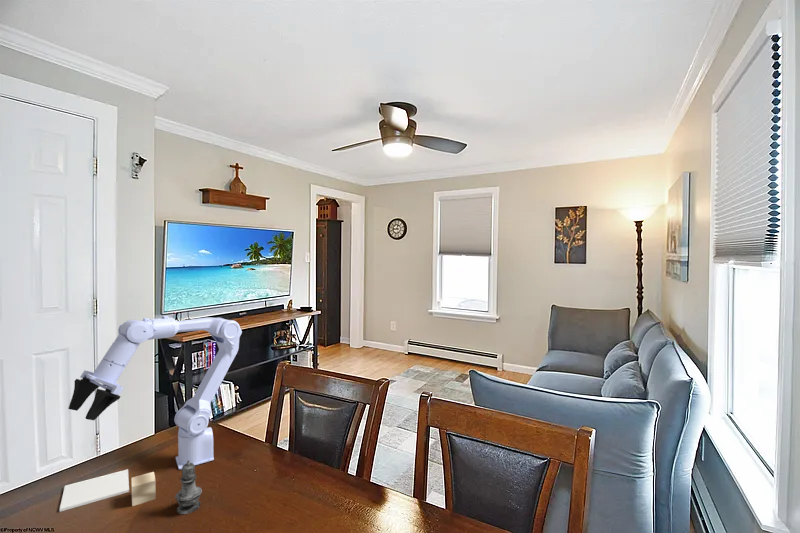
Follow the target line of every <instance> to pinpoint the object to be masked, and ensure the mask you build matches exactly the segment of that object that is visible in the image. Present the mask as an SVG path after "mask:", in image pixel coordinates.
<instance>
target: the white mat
mask: <svg viewBox="0 0 800 533" xmlns="http://www.w3.org/2000/svg"><path fill="white" fill-rule="evenodd" d="M129 478H130V477H129V469H128V468H127V469H124V470H120V471H119V470H118V471H116V472H112V473H107V474H105V475H102V476H96V477H94V478H89V479H86V480H81V481H78V482H74V483H70V484H65V485H64V487H63V494H62V497H61V502H60V505H59V513H61V512H63V511H68V510H71V509H75V508H78V507H81V506H85V505H89V504H92V503H95V502H99V501H102V500H106V499H109V498H113V497H116V496H121V495H123V494H126V493H130V482H129Z"/></svg>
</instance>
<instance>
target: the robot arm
mask: <svg viewBox="0 0 800 533" xmlns="http://www.w3.org/2000/svg"><path fill="white" fill-rule="evenodd" d="M117 329H118V330H117V331H118V335H117V337H116V338H115V339H114V340H113V342H112V343H111V345H110V347H109V348H108V349H107V351H106V352H105V354H104V356H103V357H102V359H101V360H100V362H99V363H98V365H97V367H96V368H95V370H94V371H93V372H92V371H88V370H83V372H82V373H81V375H80V376H79V377H80V379H79V378H75V380H74V387H73V392H72V396H71V400H70V402H69V404H68V407H67V409H68V410H71V411H79V409H81V407H82V406H83V405H84V404H85V402H86V400H88V398H89V397H90V396H91V395H92V393H94V392H95V395H94V399H93V401H92V403H91V406H90V407H89V409H88V411H87V413H86V415H85V419H86V420H88V421H89V420H90V421H96V419H97V418H98V417H99V416H101V414H103V412H104V411H105V410H106V409H107V408H109V407H110V406H111V405H112V404H114V403H115V402H116V401H117V402H118V400H120V399H121V397H122V396H120V395H121V394H122V392H123V391H124V389H125V387H123V386H121V385H120V384H119V383H118V381H119V379H120V377H121V375H122V374H123V372H124V370H126V367H127V366H128V364H129V362H130V361H131V360H132V358H133V356H134V354H135V353H136V351H137V349H138V348H139V346H140V344H142V343H144V342H147V341H149V340H150V341H151V340H158V339H166V338H167V339H168V338H172V337H174V336H176V334H177V333H182V332H196V331H197V332H198V331H205V332H208V333H209V335H210V336H211V337H212V338H213V340H215V343H216V345H217V347H218V351H217V353H216V355H215V356H214V358H213V360H212V362H211V363H210V365H209V367H208V369H207V371H206V373H205V375H204V376H203V378H202V380H201V382H200V384H199V386H198V387H197V389H196V391H195V393H194V395H193V397H191V398H190V399H188V400H186V401H185V403H184V405H183V406H182V407H180V409H179V410H178V411H176V413H175V415H174V423H175V425H176V426H177V427H178V432H177V437H178V439H177V440H178V441H177V445H178V446H177V447H178V449H177V450H178V455H177V456H175V462H176V465H177V468H178V470H182V467H183V465H185V464H186V463H187V461H188V460H189V461H190V462H189V463H193V464H194V465H195V466H198V465H201V464H204V463H209V462H211V461H214V460H215V458H214V433H213V428H212V427H211V426H210V427H208V425H209V422H210V421H209V420H210V417H211V416H210V415H211V414H212V406H211V403H212V402H213V399H214V398H215V395H216V394H217V392H218V390H219V388H220V386H221V384H222V382H223V380H224V378H225V377H226V375H227V373H228V371H229V368H230V367H231V365H232V363H233V361H234V360H235V358H236V355H237V354H238V352H239V348H240V338H241V335H242V333H243V331H242V329H241V325H240V324H239V323H238V322H237V321H236V320H233V319H232V320H231V319H225V318H223V317H219V316H218V317H210V316H209V317H207V316H206V317H199V318H192V319H184V320H176V319H175V318H174V317H169V315H161V318H148V317H143V319H142V320H138V319H129V320H126V321H125V322H123V323H122V324H119V327H118V328H117ZM100 388H101V389H100ZM102 388H103V389H102Z"/></svg>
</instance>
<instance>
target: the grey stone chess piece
mask: <svg viewBox="0 0 800 533" xmlns="http://www.w3.org/2000/svg"><path fill="white" fill-rule="evenodd" d="M189 462H190V461H189V460H188V461H187V463H186V464H185V465H183V467H182V469H181V477H180V480H179V481H180V482H181V489H180V490H178V492H177V493H176V494H175V496H174V498H175V500H176V502H177V504H178V505H179V506H178V507H177V508H176V512H177V514H179V515H188V514H191V513H193V512H196V511H197V510H198V509H199V508H200V507H201V504H202V502H201V501H200V500H199V499H200V498H201V494H202V492H203V489H202V487H200V486H197V485H196V479H197V477H198V476H197V475H196V465H194V464H193V463H189Z"/></svg>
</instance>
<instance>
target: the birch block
mask: <svg viewBox="0 0 800 533" xmlns="http://www.w3.org/2000/svg"><path fill="white" fill-rule="evenodd" d="M130 484H131V506H132V507H134V506H137V505H138V506H139V505H141V504H144V503H148V502H150V501H154V500H156V499H157V498H156V497H157V496H156V493H157V492H156V491H157V490H156V487H157V486H156V485H157V484H156V475H155V472H154V471H152V472H151V471H150V472H146V473H144V474H141V475H140V474H139V475H136V476H132V477H131V482H130Z"/></svg>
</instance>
